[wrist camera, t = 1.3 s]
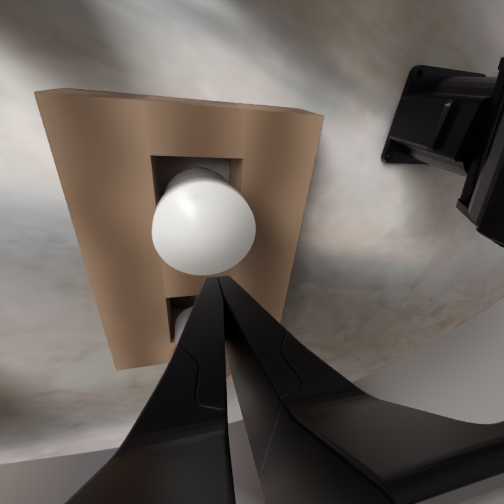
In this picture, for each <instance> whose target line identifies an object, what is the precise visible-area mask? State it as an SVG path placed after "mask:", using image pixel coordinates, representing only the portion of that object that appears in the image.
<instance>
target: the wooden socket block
mask: <svg viewBox="0 0 504 504" xmlns="http://www.w3.org/2000/svg"><path fill="white" fill-rule="evenodd" d="M34 94H35V98H36V101H37V104H38V108H39V111H40V115H41V118H42V121H43V125H44V128H45V131H46V135H47V138H48V141H49V145H50V148H51V152H52V155H53V158H54V162H55V165H56V168H57V172H58V175H59V179H60V182H61V185H62V189H63V192H64V195H65V199H66V202H67V206H68V209H69V212H70V216H71V219H72V222H73V226H74V229H75V233H76V236H77V239H78V243H79V246H80V249H81V253H82V256H83V260H84V263H85V266H86V270H87V273H88V276H89V280H90V283H91V287H92V290H93V293H94V297H95V300H96V303H97V307H98V310H99V314H100V317H101V320H102V324H103V327H104V330H105V334H106V337H107V341H108V344H109V347H110V351H111V354H112V357H113V361H114V364H115V368H116V370H123V369H130V368H137V367H143V366H150V365H157V364H164V363H169V355H170V353H171V351H172V349H173V348H174V347H175V322H176V319H177V317H178V316H179V315H180V314H181V313H182V312H183V311H184V310H186V309H187V308H190V307H185V308H175V309H171V303H170V298H171V297H182V296H193V295H198V293H199V291H200V289H201V286H202V284H203V282H204V279H205V277H207V276H217V277H218V276H221V275H229V276H231V277H232V278H233V279H234V280H235V281H236V282H237V283H238V284H239V285H240V286H241V287H242V288H243V289H244V290H245V291H247V292H248V293H249V294H250V295H251V296H252V297H253V298H254V299H255V300H256V301H257V302H258V303H259V304H260V305H261V306H262V307H263V308H265V309H266V310H267V311H268V312H269V313H270V314H271V315H272V316H273V317H274V318H275V319H276V320H277V321H278V322H279V323H281V318H282V314H283V309H284V304H285V299H286V295H287V290H288V285H289V281H290V276H291V271H292V266H293V262H294V257H295V252H296V247H297V243H298V238H299V233H300V229H301V224H302V219H303V214H304V210H305V205H306V200H307V196H308V191H309V186H310V181H311V177H312V172H313V167H314V163H315V158H316V153H317V148H318V144H319V139H320V134H321V130H322V125H323V120H324V116H323V115H320V114H316V113H313V112H309V111H305V110H302V109H298V108H287V107H276V106H265V105H253V104H242V103H230V102H219V101H208V100H196V99H185V98H173V97H162V96H151V95H139V94H128V93H116V92H105V91H94V90H82V89H71V88H60V89H52V90H44V91H36V92H34ZM156 156H184V157H212V158H230V179H229V184H230V185H231V186H233V187H234V188H235V189H237V190H238V191H239V192H240V193H241V195H242V196H243V197H244V199H245V200H246V202H247V204H248V205H249V207H250V209H251V211H252V213H253V216H254V219H255V225H256V233H255V239H254V242H253V244H252V246H251V249H250V250H249V252H248V253H247V255H246V256H245V257H244V258H243V259H242V260H241V261H240V262H239V263H238V264H236V265H235V266H233V267H232V268H230V269H228V270H226V271H223V272H220V273H217V274H213V275H191V274H187V273H184V272H181V271H178V270H176V269H175V268H173V267H171V266H170V265H168V264H167V263H166V262H165V261H164V260H163V259H162V258H161V257H160V255H159V254H158V252H157V250H156V249H155V246H154V243H153V239H152V224H153V217H154V212H155V208H156V206H157V204H158V202H159V201H160V189H159V179H158V168H157V158H156Z"/></svg>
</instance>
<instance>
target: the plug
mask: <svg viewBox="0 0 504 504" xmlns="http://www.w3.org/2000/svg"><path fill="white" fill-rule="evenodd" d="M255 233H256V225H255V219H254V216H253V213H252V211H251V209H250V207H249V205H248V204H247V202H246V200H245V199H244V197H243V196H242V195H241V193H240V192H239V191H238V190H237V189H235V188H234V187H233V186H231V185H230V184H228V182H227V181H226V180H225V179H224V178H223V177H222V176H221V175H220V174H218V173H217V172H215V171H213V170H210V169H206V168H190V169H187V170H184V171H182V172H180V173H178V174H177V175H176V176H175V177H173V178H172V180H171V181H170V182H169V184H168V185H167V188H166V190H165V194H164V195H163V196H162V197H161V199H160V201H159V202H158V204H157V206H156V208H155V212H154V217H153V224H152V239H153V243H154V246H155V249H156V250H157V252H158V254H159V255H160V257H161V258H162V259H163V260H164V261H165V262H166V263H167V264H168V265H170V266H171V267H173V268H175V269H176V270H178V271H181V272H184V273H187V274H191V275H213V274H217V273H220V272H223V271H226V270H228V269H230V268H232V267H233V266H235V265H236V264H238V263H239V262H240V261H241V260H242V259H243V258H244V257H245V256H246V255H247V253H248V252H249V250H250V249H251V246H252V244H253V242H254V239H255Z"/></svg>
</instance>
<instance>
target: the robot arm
mask: <svg viewBox="0 0 504 504" xmlns="http://www.w3.org/2000/svg"><path fill="white" fill-rule="evenodd" d="M498 70H499V74H498V77H486V75H484V74H479V73H472V72H465V71H459V70H452V69H445V68H438V67H432V66H425V65H417V66H414V67H413V68H412V69H411V71H410V73H409V76H408V79H407V82H406V85H405V87H404V90H403V93H402V96H401V99H400V102H399V105H398V108H397V111H396V114H395V117H394V120H393V123H392V126H391V129H390V132H389V135H388V138H387V141H386V144H385V147H384V150H383V152H382V156H381V159H382V161H384V162H387V163H405V164H431V165H434V166H436V167H439V168H442V169H445V170H448V171H451V172H454V173H456V174H459V175H462V176H465V177H467V178H466V181H465V184H464V187H463V191H462V194H461V197H460V199H458V201H457V205H456V207H457V208H458V209H459V210H460V211H461V212H462V213H463V214H464V215H465V216H466V217H467V218H468V219H469V220H470V221H471V222H472V223H473V224H475V225H476V226H477V227H476V230H477V231H478V232H479V233H480V234H482V235H483V236H485V237H487V238H488V239H490V240H492V241H493V242H495V243H496V244H498V245H500V246H501V247H504V57H501V60H500V63H499V66H498ZM417 71H418V72H419V73H418V76H417V77H416V73H417ZM389 154H390V156H389V157H388V158H387V156H388V155H389ZM225 351H226V355H227V359H228V363H229V367H230V370H231V374H232V378H233V382H234V386H235V390H236V393H237V397H238V401H239V405H240V409H241V412H242V416H243V420H244V423H245V427H246V432H247V435H248V439H249V443H250V447H251V451H252V454H253V458H254V462H255V466H256V470H257V473H258V477H259V479H260V485H261V489H262V493H263V497H264V500H265V504H504V421H502V422H499V423H495V424H475V423H469V422H464V421H459V420H455V419H452V418H448V417H444V416H440V415H437V414H433V413H429V412H425V411H421V410H418V409H414V408H410V407H406V406H402V405H399V404H395V403H391V402H387V401H384V400H380V399H378V398H375V397H373V396H371V395H369V394H367V393H366V392H364V391H362V390H361V389H359V388H358V387H357V386H355V385H354V384H353V383H351V382H350V381H349V380H347V379H346V378H345V377H343V376H342V375H341V374H340V373H338V372H337V371H336V370H334V369H333V368H332V367H330V366H329V365H328V364H327V363H325V362H324V361H323V360H321V359H320V358H319V357H318V356H316V355H315V354H314V353H313V352H311V351H310V350H309V349H308V348H307V347H305V346H304V345H303V344H302V343H301V342H300V341H299V340H298V339H296V338H295V337H294V336H293V335H292V334H291V333H290V332H289V331H287V329H286V328H285V327H284V326H283V325H281V324H280V323H279V322H278V321H277V320H276V319H275V318H274V317H273V316H272V315H271V314H270V313H269V312H268V311H267V310H266V309H265V308H263V307H262V306H261V305H260V304H259V303H258V302H257V301H256V300H255V299H254V298H253V297H252V296H251V295H250V294H249V293H248V292H247V291H245V290H244V289H243V288H242V287H241V286H240V285H239V284H238V283H237V282H236V281H235V280H234V279H233V278H232V277H231V276H229V275H221V276H218V277H217V276H207V277H205V279H204V282H203V284H202V286H201V289H200V291H199V293H198V296H197V298H196V301H195V303H194V305H193V308H192V310H191V312H190V315H189V317H188V319H187V322H186V324H185V327H184V329H183V331H182V334H181V336H180V338H179V341H178V343H177V346H176V348H175V350H174V352H173V355H172V357H171V359H170V361H169V363H168V366H167V368H166V370H165V372H164V374H163V376H162V377H161V379H160V381H159V383H158V385H157V386H156V388H155V390H154V392H153V393H152V395H151V397H150V398H149V400H148V402H147V403H146V405H145V407H144V409H143V410H142V412H141V414H140V415H139V417H138V419H137V420H136V422H135V424H134V425H133V427H132V429H131V431H130V432H129V434H128V435H127V437H126V439H125V440H124V442H123V443H122V444H121V446H120V447H119V449H118V450H117V451H116V453H115V454H114V455H113V456H112V457H111V459H110V460H109V461H108V462H107V463H106V464H105V465H104V466H103V467H102V468H101V469H100V470H99V471H98V472H97V473H96V474H95V475H93V476H92V477H91V478H90V479H89V480H88V481H87V482H86V483H85V484H84V485H83V486H82V487H81V488H80V489H79V490H78V491H77V492H76V493H75V494H74V495H73V496H72V497H71V498H70V499H69V500H68V501H67V502H66V503H65V504H236V502H235V492H234V484H233V474H232V465H231V455H230V446H229V436H228V416H227V386H226V356H225Z"/></svg>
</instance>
